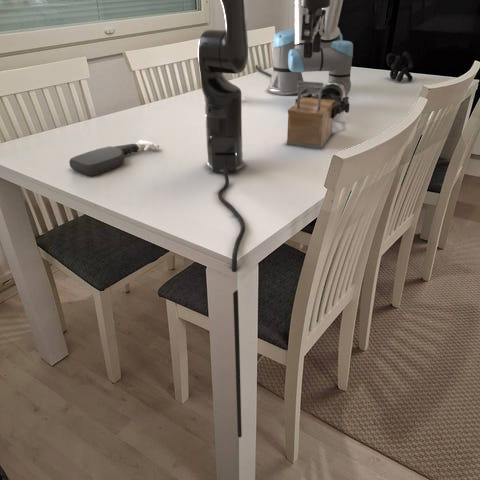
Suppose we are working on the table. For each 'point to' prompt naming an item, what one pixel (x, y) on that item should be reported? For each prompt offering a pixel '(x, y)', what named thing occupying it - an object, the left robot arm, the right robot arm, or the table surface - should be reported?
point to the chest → (309, 130)
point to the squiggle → (399, 66)
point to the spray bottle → (106, 157)
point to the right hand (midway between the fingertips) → (315, 112)
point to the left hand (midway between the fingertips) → (311, 54)
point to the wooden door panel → (311, 102)
